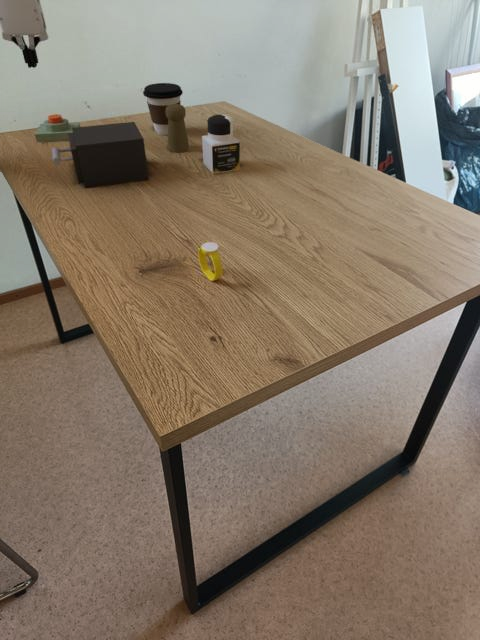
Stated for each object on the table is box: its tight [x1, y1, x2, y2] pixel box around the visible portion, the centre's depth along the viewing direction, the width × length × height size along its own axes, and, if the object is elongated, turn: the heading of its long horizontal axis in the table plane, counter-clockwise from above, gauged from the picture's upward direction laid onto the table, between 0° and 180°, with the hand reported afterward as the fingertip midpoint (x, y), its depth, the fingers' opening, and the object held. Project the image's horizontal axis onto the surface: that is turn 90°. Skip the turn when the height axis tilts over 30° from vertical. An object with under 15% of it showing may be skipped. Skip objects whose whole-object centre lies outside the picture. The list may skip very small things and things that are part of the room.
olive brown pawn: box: [165, 103, 190, 153], centre depth 119 cm, size 6×6×11 cm
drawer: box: [51, 133, 84, 185], centre depth 105 cm, size 18×11×8 cm, turn 109°
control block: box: [34, 117, 81, 143], centre depth 128 cm, size 11×9×4 cm
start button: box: [47, 113, 63, 124], centre depth 127 cm, size 4×4×2 cm
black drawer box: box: [72, 121, 150, 189], centre depth 106 cm, size 15×13×10 cm
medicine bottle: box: [201, 114, 241, 175], centre depth 109 cm, size 7×7×12 cm
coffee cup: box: [142, 82, 184, 136], centre depth 129 cm, size 11×11×12 cm
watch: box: [197, 241, 223, 282], centre depth 75 cm, size 6×3×6 cm, turn 32°
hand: (32, 66), depth 117 cm, fingers closed
